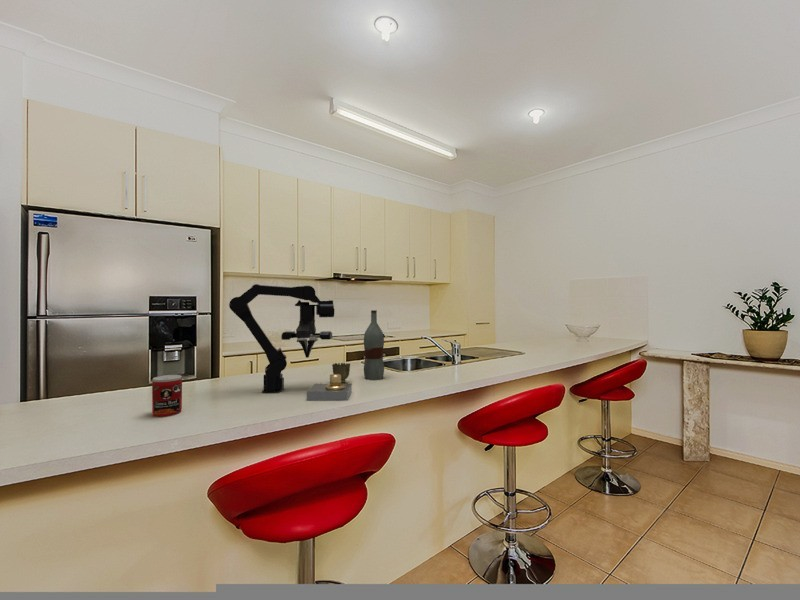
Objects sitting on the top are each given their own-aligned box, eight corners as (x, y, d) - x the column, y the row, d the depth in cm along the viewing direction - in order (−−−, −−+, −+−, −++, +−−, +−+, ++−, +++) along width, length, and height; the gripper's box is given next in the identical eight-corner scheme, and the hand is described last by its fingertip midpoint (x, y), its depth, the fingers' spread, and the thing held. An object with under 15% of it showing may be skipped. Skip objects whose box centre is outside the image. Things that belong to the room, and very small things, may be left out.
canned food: (150, 418, 108) (150, 380, 108) (153, 411, 115) (154, 376, 115) (181, 415, 112) (181, 378, 112) (182, 408, 119) (182, 373, 119)
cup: (348, 385, 151) (348, 365, 151) (330, 385, 152) (330, 365, 152) (351, 381, 159) (351, 362, 159) (334, 381, 159) (334, 362, 159)
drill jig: (306, 400, 128) (306, 391, 128) (314, 391, 140) (314, 383, 140) (347, 400, 128) (347, 391, 128) (351, 391, 140) (351, 383, 140)
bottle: (362, 376, 169) (362, 310, 169) (381, 375, 171) (381, 310, 171) (365, 380, 160) (365, 310, 160) (386, 379, 162) (386, 310, 162)
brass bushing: (323, 397, 131) (323, 377, 131) (327, 392, 138) (327, 373, 138) (344, 397, 131) (344, 377, 131) (346, 392, 138) (346, 373, 138)
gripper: (276, 318, 138) (276, 360, 138) (327, 318, 138) (327, 360, 138) (285, 317, 149) (285, 356, 149) (332, 317, 149) (332, 356, 149)
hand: (307, 357), depth 146 cm, fingers closed
